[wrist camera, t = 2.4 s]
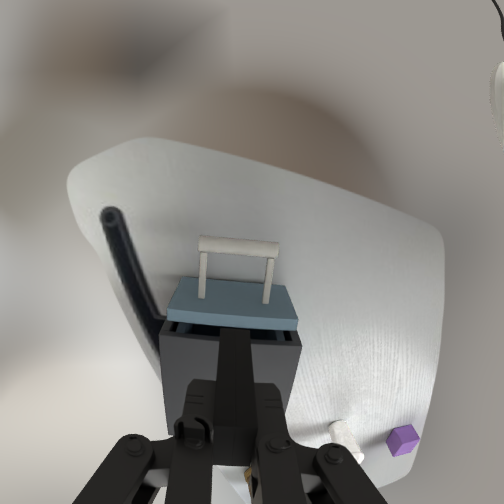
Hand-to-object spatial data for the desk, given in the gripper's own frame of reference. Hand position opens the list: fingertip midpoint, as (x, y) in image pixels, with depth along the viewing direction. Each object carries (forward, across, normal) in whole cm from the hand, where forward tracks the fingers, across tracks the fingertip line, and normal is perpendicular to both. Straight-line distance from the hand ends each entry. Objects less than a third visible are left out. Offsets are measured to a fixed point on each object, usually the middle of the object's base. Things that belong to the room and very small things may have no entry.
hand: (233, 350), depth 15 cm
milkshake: (+18, +19, -28) cm, 39 cm away
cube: (+18, +35, -34) cm, 52 cm away
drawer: (+17, 0, -7) cm, 18 cm away
